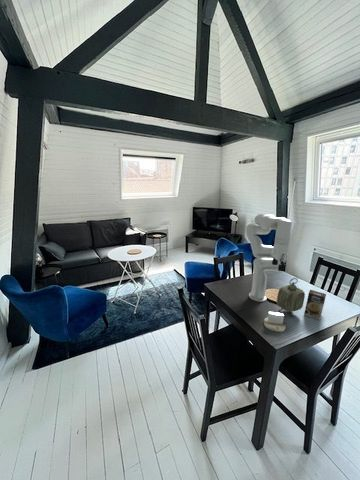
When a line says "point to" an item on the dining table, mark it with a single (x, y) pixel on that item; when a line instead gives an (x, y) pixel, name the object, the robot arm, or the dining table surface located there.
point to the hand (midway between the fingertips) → (277, 267)
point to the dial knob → (275, 318)
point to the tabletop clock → (290, 298)
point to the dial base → (274, 326)
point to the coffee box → (315, 304)
